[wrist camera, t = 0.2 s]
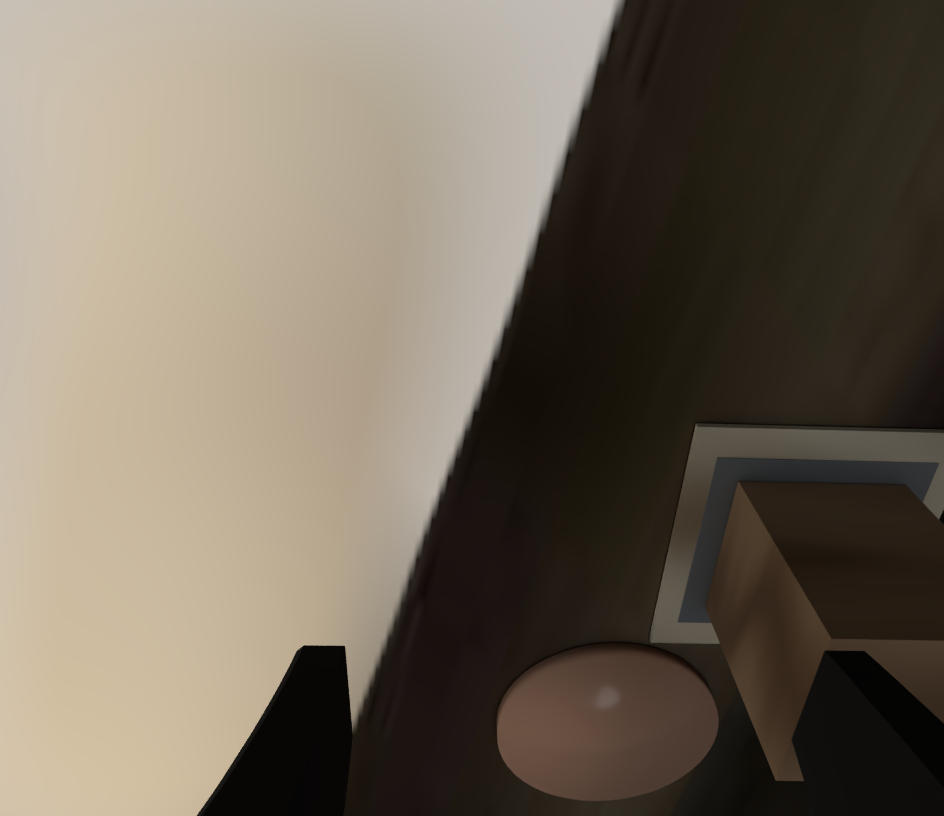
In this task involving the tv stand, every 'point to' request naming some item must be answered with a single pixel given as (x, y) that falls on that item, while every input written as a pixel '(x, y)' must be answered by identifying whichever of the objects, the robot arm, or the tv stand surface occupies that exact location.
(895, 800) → the robot arm
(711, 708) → the coaster
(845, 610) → the walnut block
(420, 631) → the tv stand surface
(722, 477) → the board
